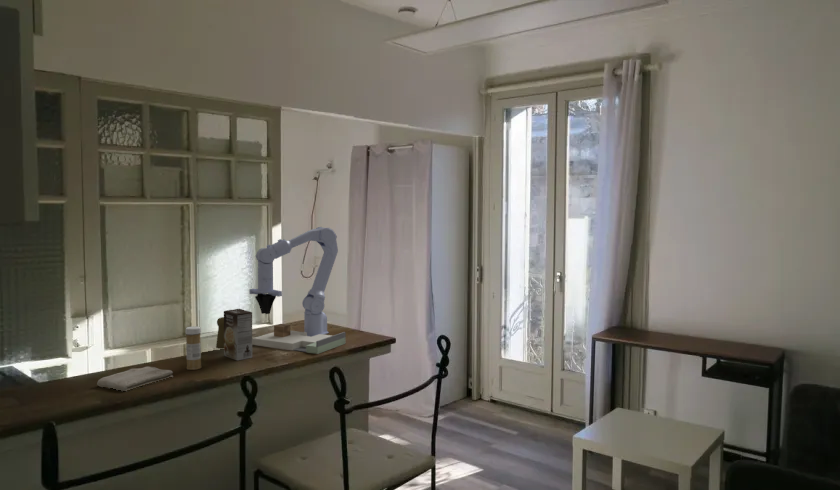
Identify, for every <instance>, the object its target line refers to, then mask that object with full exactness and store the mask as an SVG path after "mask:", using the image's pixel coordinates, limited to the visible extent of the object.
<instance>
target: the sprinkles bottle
mask: <svg viewBox="0 0 840 490" xmlns="http://www.w3.org/2000/svg"><path fill="white" fill-rule="evenodd" d="M201 333H202V328H201V327H200V326H198V325H197V326H194V325H193V326H187V327H186V328H185V338H186V339H185V340H186V344H185V347H186V349H185V350H186V353H185V354H186V370H188V371H196V370H200V369H201V368H202V346H201Z"/></svg>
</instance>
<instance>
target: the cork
mask: <svg viewBox="0 0 840 490" xmlns="http://www.w3.org/2000/svg"><path fill="white" fill-rule="evenodd" d="M216 326H217V327H218V328H217V335H216V344H215V347H216V349H219V350H220V349H221V350H222V349H223V350H224V316H221V317H218V318H217V320H216Z"/></svg>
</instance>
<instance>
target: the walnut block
mask: <svg viewBox="0 0 840 490" xmlns="http://www.w3.org/2000/svg"><path fill="white" fill-rule="evenodd" d="M290 331H291V324H285V323H280V324H276V325H273V332H274V336H277V337H286V336H289V335H290Z"/></svg>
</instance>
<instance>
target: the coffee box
mask: <svg viewBox="0 0 840 490" xmlns="http://www.w3.org/2000/svg"><path fill="white" fill-rule="evenodd" d="M223 317H224V349H223V354H224V357H227V358H229V359H231V360H235V361H242V360H247V359H251V358H253V345H252V338H253V312H252V311H249V310H245V309H242V308H233V309H228V310H223Z"/></svg>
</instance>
